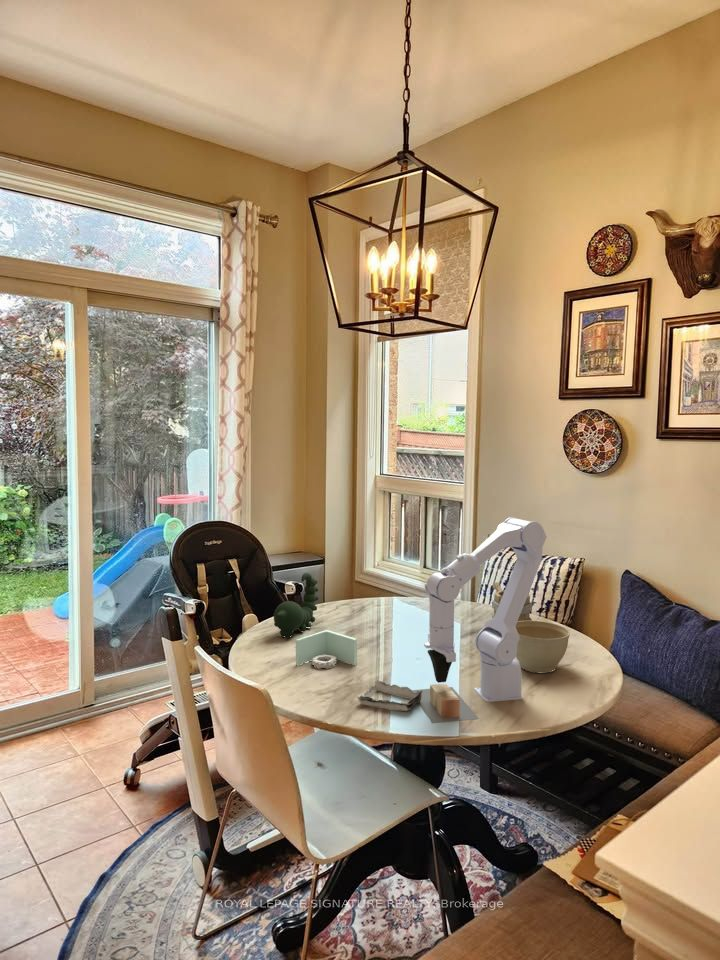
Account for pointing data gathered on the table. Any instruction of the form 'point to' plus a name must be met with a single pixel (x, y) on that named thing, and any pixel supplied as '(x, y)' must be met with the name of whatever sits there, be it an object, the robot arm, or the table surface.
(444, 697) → the birch block
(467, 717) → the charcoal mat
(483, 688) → the robot arm
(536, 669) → the planter bowl
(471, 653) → the table surface
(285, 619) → the toy figurine
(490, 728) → the table surface
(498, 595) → the tankard
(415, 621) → the table surface
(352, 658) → the l-shaped corner panel
